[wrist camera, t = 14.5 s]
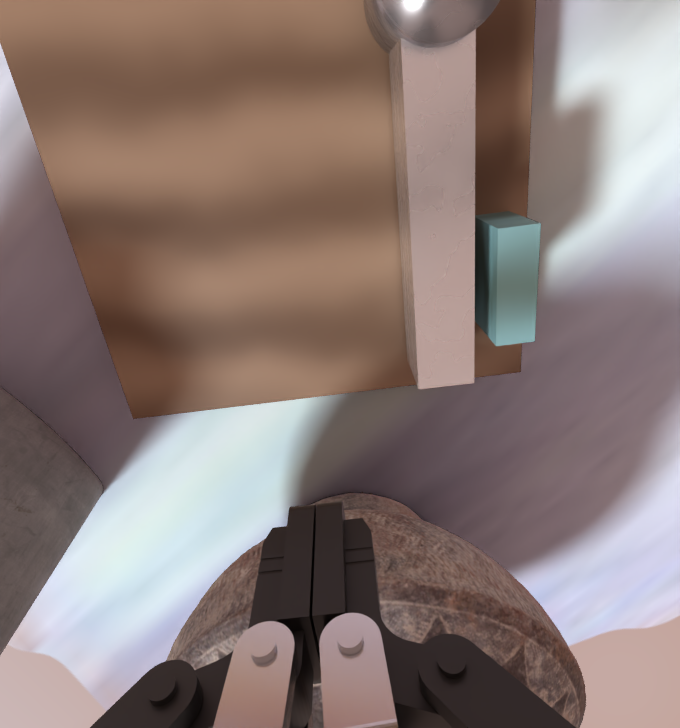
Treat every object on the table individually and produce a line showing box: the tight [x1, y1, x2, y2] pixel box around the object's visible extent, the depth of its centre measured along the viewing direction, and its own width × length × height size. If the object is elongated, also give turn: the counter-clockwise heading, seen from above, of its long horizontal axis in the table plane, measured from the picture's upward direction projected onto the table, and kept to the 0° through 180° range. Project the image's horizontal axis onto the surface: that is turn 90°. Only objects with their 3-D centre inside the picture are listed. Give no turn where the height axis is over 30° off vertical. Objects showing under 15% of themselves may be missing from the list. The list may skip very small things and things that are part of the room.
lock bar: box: [364, 0, 500, 389], centre depth 23 cm, size 20×5×5 cm, turn 7°
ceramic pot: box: [166, 492, 586, 728], centre depth 30 cm, size 25×25×24 cm
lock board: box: [0, 0, 541, 419], centre depth 25 cm, size 24×25×7 cm
